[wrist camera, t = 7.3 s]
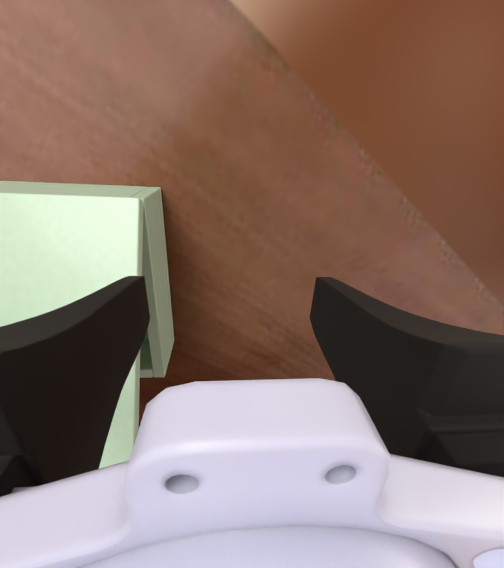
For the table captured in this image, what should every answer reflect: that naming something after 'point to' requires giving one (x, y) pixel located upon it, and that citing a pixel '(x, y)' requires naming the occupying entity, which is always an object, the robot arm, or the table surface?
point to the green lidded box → (153, 262)
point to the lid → (72, 272)
